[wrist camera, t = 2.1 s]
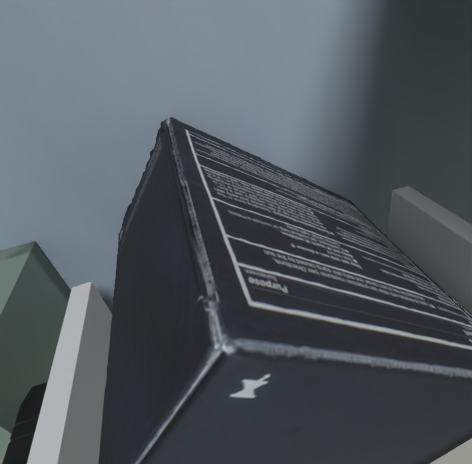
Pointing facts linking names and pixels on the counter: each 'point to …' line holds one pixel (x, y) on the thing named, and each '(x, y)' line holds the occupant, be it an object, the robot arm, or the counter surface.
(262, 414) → the small box
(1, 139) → the counter surface
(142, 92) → the counter surface
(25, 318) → the box
